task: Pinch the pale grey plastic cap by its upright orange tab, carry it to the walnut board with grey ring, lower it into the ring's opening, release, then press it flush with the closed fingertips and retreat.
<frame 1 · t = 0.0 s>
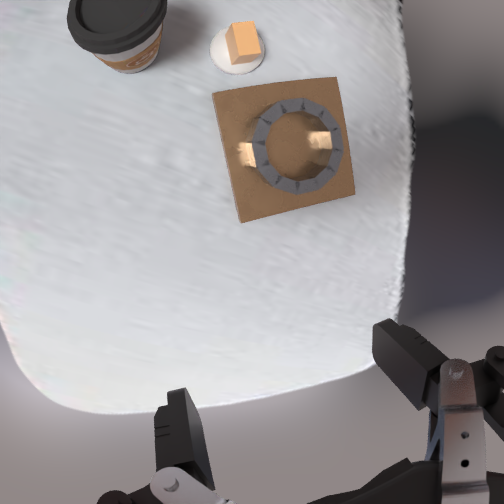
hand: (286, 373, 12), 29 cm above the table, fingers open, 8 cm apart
coffee cup: (132, 50, 31), on the table
cap: (236, 51, 33), on the table
board with grey ring: (288, 145, 39), on the table
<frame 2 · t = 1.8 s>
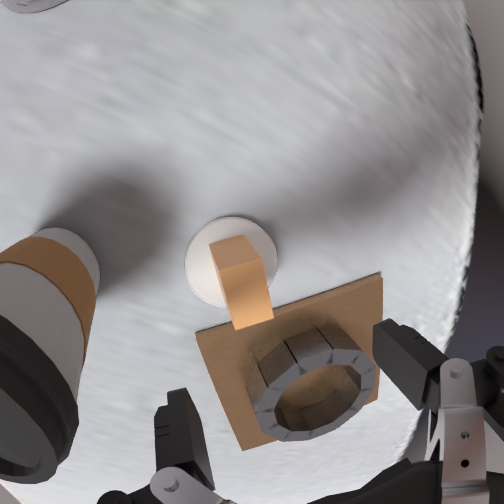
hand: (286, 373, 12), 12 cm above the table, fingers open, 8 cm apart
coffee cup: (61, 267, 20), on the table
cap: (229, 260, 23), on the table
board with grey ring: (303, 372, 29), on the table
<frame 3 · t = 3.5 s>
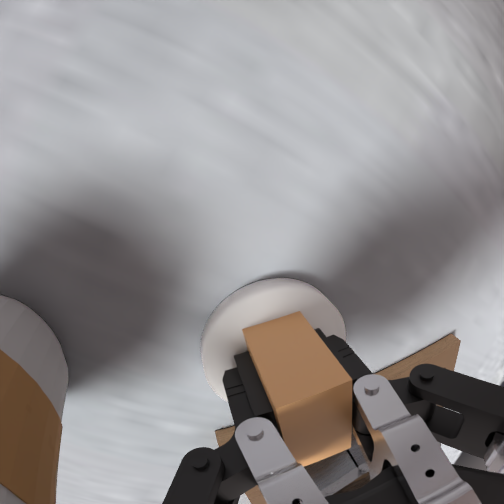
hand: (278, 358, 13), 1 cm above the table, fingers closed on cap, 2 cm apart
coffee cup: (13, 347, 12), on the table
cap: (270, 342, 14), on the table, touching gripper
board with grey ring: (349, 452, 20), on the table
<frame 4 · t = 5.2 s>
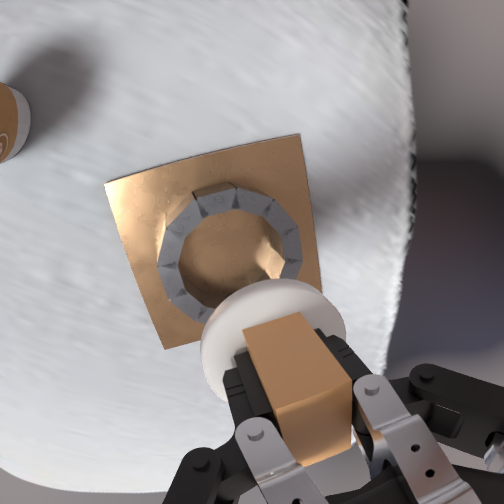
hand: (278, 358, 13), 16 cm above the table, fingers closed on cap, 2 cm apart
coffee cup: (4, 125, 19), on the table
cap: (270, 342, 14), point 15 cm above the table, touching gripper
board with grey ring: (223, 246, 28), on the table
when the fingers open (4 cm above the table, at t = 7.0 s): cap drops 2 cm, resting on board with grey ring.
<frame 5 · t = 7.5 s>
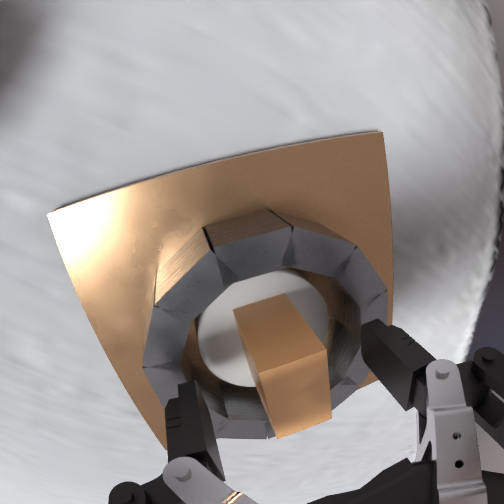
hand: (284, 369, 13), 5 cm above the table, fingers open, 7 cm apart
cap: (259, 323, 16), point 1 cm above the table, touching board with grey ring
board with grey ring: (255, 312, 17), on the table
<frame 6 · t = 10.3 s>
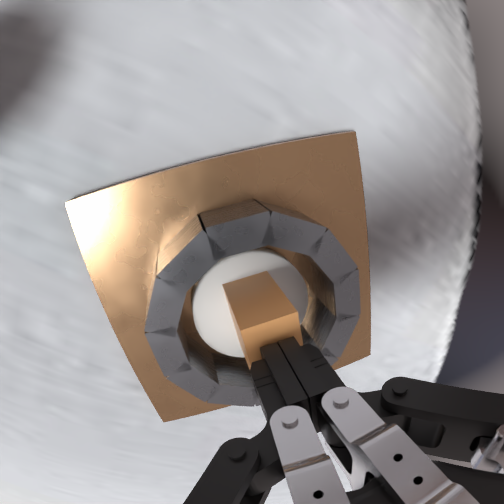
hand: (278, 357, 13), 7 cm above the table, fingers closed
cap: (247, 299, 19), point 1 cm above the table, touching board with grey ring
board with grey ring: (244, 291, 19), on the table
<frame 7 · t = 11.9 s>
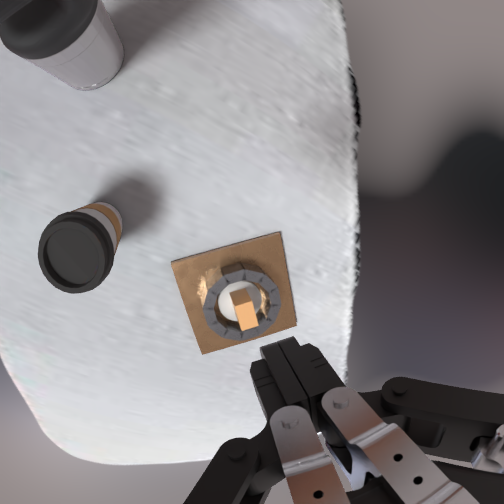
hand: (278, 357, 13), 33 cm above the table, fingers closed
coffee cup: (101, 223, 42), on the table
cap: (238, 298, 48), point 1 cm above the table, touching board with grey ring
board with grey ring: (237, 295, 49), on the table
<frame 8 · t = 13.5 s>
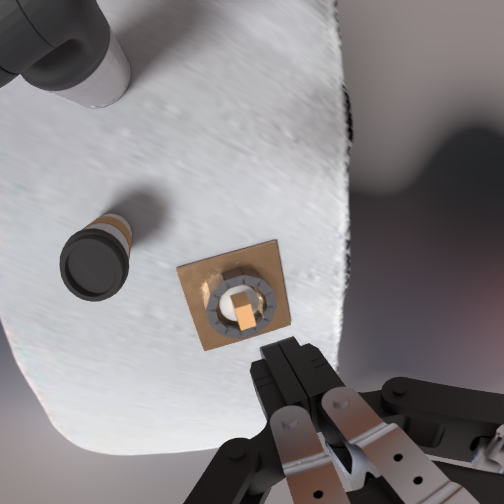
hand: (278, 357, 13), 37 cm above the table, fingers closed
coffee cup: (112, 233, 46), on the table
cap: (238, 300, 53), point 1 cm above the table, touching board with grey ring
board with grey ring: (237, 297, 54), on the table
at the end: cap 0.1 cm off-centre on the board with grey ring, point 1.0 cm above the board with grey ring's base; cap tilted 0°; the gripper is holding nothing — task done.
